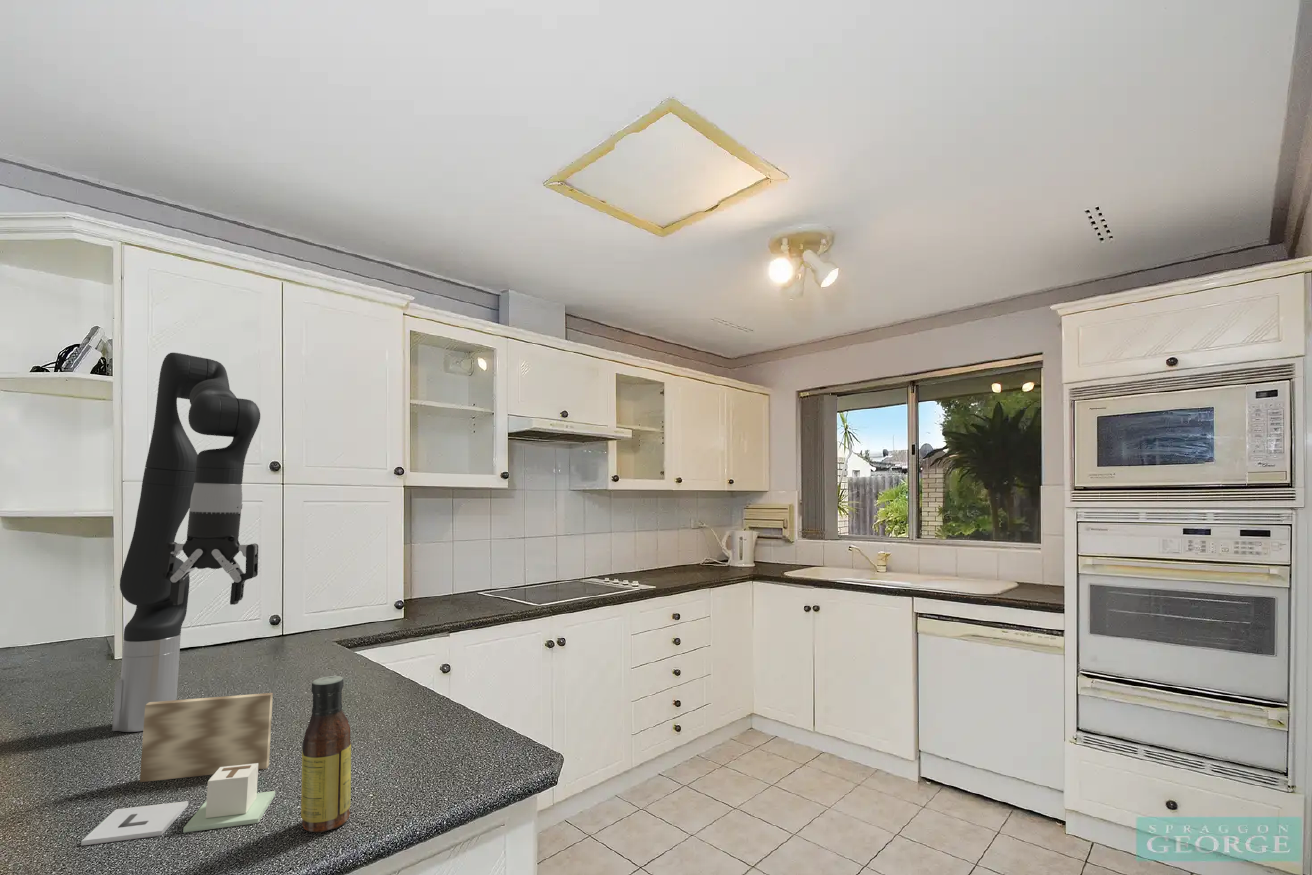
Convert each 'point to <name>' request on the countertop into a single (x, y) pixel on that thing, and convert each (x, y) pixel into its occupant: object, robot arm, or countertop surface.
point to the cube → (232, 790)
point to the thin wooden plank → (205, 735)
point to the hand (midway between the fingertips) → (206, 604)
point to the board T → (250, 817)
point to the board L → (135, 823)
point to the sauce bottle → (326, 759)
